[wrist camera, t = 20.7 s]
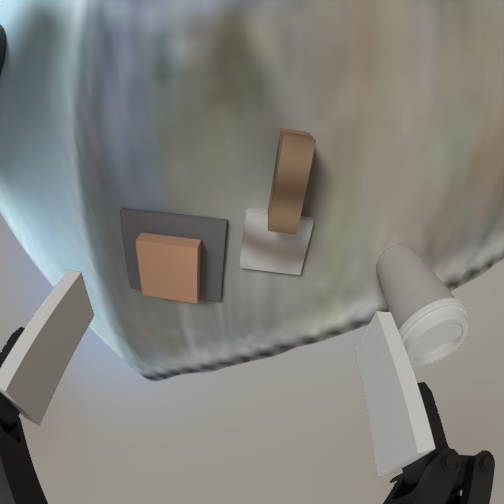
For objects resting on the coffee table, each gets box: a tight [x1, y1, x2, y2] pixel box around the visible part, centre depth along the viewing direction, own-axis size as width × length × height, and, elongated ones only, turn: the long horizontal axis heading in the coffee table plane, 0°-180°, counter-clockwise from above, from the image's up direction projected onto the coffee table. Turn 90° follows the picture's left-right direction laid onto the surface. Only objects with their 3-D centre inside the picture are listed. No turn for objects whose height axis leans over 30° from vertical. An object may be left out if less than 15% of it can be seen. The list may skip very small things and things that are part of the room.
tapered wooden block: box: [239, 128, 316, 275], centre depth 31 cm, size 18×8×5 cm, turn 173°
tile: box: [136, 232, 201, 304], centre depth 37 cm, size 2×8×9 cm
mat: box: [120, 208, 227, 302], centre depth 38 cm, size 13×14×1 cm
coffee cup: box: [376, 244, 468, 366], centre depth 31 cm, size 10×10×15 cm
